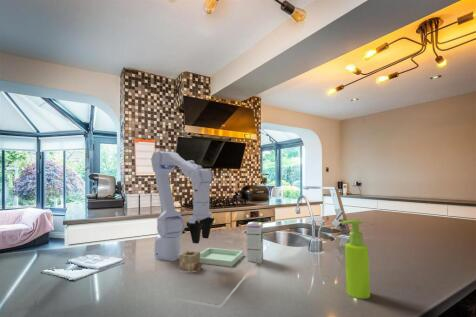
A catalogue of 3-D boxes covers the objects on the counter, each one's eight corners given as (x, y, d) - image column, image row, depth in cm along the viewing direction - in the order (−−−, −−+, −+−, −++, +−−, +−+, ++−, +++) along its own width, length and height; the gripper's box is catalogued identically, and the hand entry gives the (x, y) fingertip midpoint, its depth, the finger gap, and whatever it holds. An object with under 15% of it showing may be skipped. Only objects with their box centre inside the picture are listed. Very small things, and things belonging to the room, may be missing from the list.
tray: (192, 263, 94) (192, 257, 95) (208, 253, 107) (208, 247, 107) (231, 268, 89) (231, 261, 90) (243, 257, 102) (243, 251, 102)
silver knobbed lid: (173, 272, 85) (173, 261, 86) (185, 264, 93) (185, 254, 93) (194, 275, 83) (194, 263, 83) (205, 267, 90) (205, 256, 91)
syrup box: (261, 263, 94) (261, 224, 95) (246, 262, 95) (246, 223, 97) (263, 259, 100) (263, 221, 101) (248, 258, 101) (248, 221, 102)
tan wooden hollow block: (179, 269, 86) (179, 254, 87) (187, 264, 91) (187, 250, 92) (196, 272, 84) (196, 256, 85) (203, 267, 89) (203, 252, 89)
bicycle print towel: (125, 264, 96) (125, 258, 96) (71, 284, 77) (71, 277, 78) (92, 257, 104) (92, 252, 104) (36, 274, 85) (36, 267, 86)
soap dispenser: (339, 289, 72) (336, 219, 74) (362, 288, 73) (359, 218, 74) (349, 299, 66) (347, 222, 68) (374, 298, 67) (371, 222, 69)
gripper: (202, 204, 83) (201, 246, 82) (219, 200, 96) (219, 236, 95) (183, 203, 85) (182, 244, 84) (202, 200, 99) (202, 235, 97)
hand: (200, 240), depth 90 cm, fingers open, 7 cm apart
